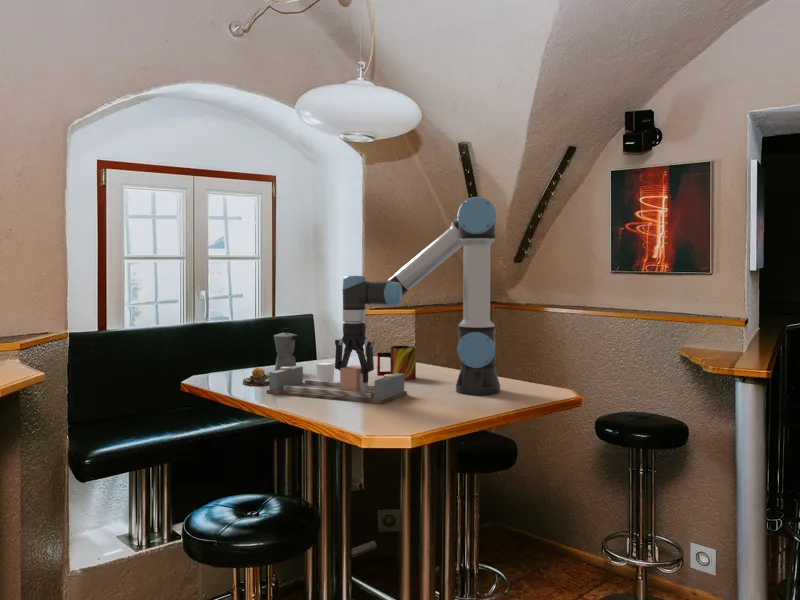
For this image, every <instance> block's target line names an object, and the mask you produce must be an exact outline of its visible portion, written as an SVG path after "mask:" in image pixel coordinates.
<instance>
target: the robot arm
mask: <svg viewBox="0 0 800 600" xmlns="http://www.w3.org/2000/svg"><path fill="white" fill-rule="evenodd" d="M457 210H458V211H457V214H456V215H457V216H456V218H454V220H453V221H452V222H450V223H451V224H450V227H449V228H448V229H447V230H445V231H444V232H443V233H442V234H441V235H439V236H438V237H437V238H436V239H435V240H434V241H432V242H431V243H430V244H429V245H427V246H426V247H425V248H424V249H422V250H421V251H420V252H418V254H416V255H415V256H414V257H412V259H411V260H410V261H408V262H407V263H406V264H405V265H403V266H402V267H401V268H400V269H399V270H397V272H395V273H394V274H393V275H392V276H390V277H389V278H388V279H387V280H385V281H367V280H366V276H365V275H346V276H344V277H343V279H342V290H341V291H342V321H343V323H342V335H343V336H342V338H339V339H335V340H334V345H335V355H334V357H335V358H334V363H335V368H334V370H338V371H340V369H341V368H344V367H348V363H349V360H350V357H351V353H352V351H355V352H356V354H357V357H358V358H357V359H358V361H359V364H360V365H359V366H361V368H362V373H360V392H366V383H367V382H369V373H370V372H372V371H374V369H375V367H374V366H375V365H374V363H375V362H374V343H375V342H374V341H373V340H368V339H367V338H366V305H377V306H378V305H379V306H381V305H386V306H394V305H395V306H397V305H400V304H401V303H402V300H403V296H404V295H405V294H407V293H408V291H410V290H411V289H412V288H413V287H415V286H416V285H417V284H419V283H420V282H421V281H422V280H423V279H424V278H426V276H428V275H429V274H430V273H431V272H433V271H434V270H436V269H437V268H438V266H440V265H441V264H442V263H445V261H446V260H448V259H449V258H450V257H451V256H453V254H455V253H456V252H457V251H458V250H459V249H461V248H462V247H463V248H462V249H463V250H462V252H463V256H462V257H463V260H462V261H463V264H462V265H463V271H462V272H463V273H462V275H463V276H462V277H463V278H462V279H463V282H462V285H463V287H462V288H463V290H462V291H463V293H462V294H463V297H462V298H463V299H462V300H463V301H462V302H463V303H462V304H463V305H462V311H463V312H462V320H461V321H460V323H459V324H458V337H457V338H458V340H457V341H458V343H457V346H456V351H457V355H458V358H459V359H460V364H461V365H460V371H459V374H458V377H457V379H456V383H455V391H456V392H458V393H460V394H465V395H474V396H475V395H476V396H480V395H481V396H483V395H484V396H487V395H494V394H495V393H496V394H498V392H499V393H500V392H501V384H500V381H499V380H500V379H499V377H498V373H497V371H496V336H497V331H496V325H495V324H494V323H493V322H492V320H491V245H492V244H493V243H494V242H495V241H496V218H497V215H496V214H497V213H496V208H495V206H494V205H493V203H492V202H491V201H490V200H488V199H487V198H485V197H482V196H472V197H469V198H467V199H465V200H464V201H463V202H462V203H461V204H460V205H459V208H458V209H457ZM343 345H344V346H343ZM364 346H365V348H364ZM343 347H344V348H343Z"/></svg>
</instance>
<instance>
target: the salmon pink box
mask: <svg viewBox="0 0 800 600" xmlns="http://www.w3.org/2000/svg"><path fill="white" fill-rule="evenodd" d="M360 373H362V368H361V365H347V367H344V368H341V369H340V370H339V381H340V390H341V391H353V392H360ZM368 382H369V381H368ZM368 382H367V383H366V390H368V385H369V383H368Z"/></svg>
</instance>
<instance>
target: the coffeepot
mask: <svg viewBox="0 0 800 600" xmlns="http://www.w3.org/2000/svg"><path fill="white" fill-rule="evenodd" d="M273 339H274V344H275V351H276V355H277V356H276V357H275V358H276V359H275V365H274V371H277V370H281V367H293V366H297V363H296V357H295V356H296V355H297V352H298V347H299V344H300V343H299V342H300V338H299V337H298V335H297V334H294V333H290V332H288V327H283V332H281V333H278V334H274V335H273Z"/></svg>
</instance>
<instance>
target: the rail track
mask: <svg viewBox="0 0 800 600" xmlns="http://www.w3.org/2000/svg"><path fill="white" fill-rule="evenodd" d="M266 394H271V395H273V394H274V395H281V396H282V395H284V396H293V397H304V398H312V399H313V398H314V399H325V400H336V401H344V402H355V403H357V402H358V403H366V402H367V403H368V404H376V403H377V404H378V405H385V404H386V403H389V402H392V401H393V400H396V399H398V398H402V397H404V396H406V395H407V394H408V390H404V392H402V393H400V394H397V395H395V396H392V397H390V398H387V399H385V400H375V384H368V390H366V392H353V391H341V390H340V382H338V381H333V382H329V381H318V379H317V380H316V379H315V380H314V379H305V380H304V381H303V383H301V384H298V385H294V386H284V389H280V390H270V388H268V389H266ZM356 401H357V402H356ZM367 403H366V404H367ZM384 403H385V404H384Z"/></svg>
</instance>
